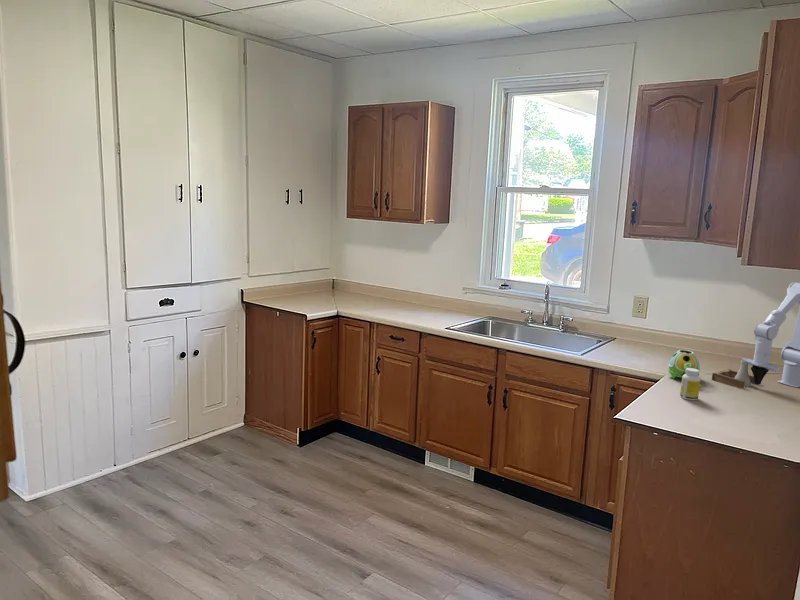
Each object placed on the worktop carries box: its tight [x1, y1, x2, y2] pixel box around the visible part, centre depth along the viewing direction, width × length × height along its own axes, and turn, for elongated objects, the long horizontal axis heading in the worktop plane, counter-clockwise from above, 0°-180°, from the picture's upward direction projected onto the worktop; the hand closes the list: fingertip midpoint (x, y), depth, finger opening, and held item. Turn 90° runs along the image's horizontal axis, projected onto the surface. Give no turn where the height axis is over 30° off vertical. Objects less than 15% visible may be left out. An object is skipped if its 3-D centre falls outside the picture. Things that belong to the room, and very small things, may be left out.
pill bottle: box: [679, 368, 701, 401], centre depth 231 cm, size 6×6×12 cm
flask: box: [735, 360, 752, 387], centre depth 252 cm, size 7×7×10 cm
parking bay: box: [711, 368, 758, 390], centre depth 255 cm, size 13×13×3 cm
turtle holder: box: [667, 349, 701, 380], centre depth 255 cm, size 12×18×12 cm
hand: (757, 384), depth 247 cm, fingers closed
